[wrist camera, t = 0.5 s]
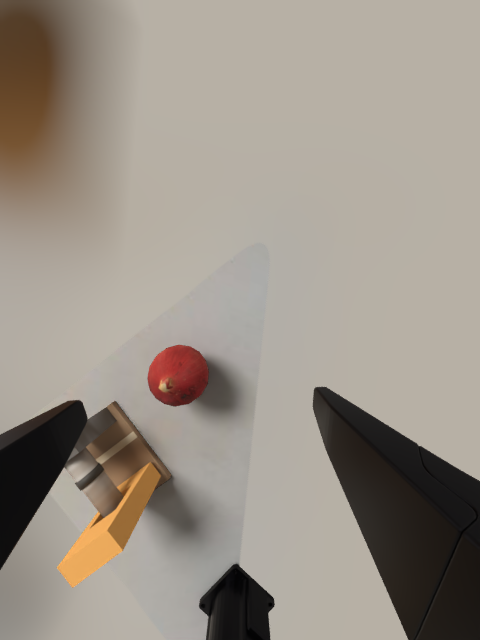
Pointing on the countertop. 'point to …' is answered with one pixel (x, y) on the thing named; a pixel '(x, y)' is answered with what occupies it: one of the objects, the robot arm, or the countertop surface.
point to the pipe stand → (110, 458)
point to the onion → (178, 375)
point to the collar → (110, 528)
